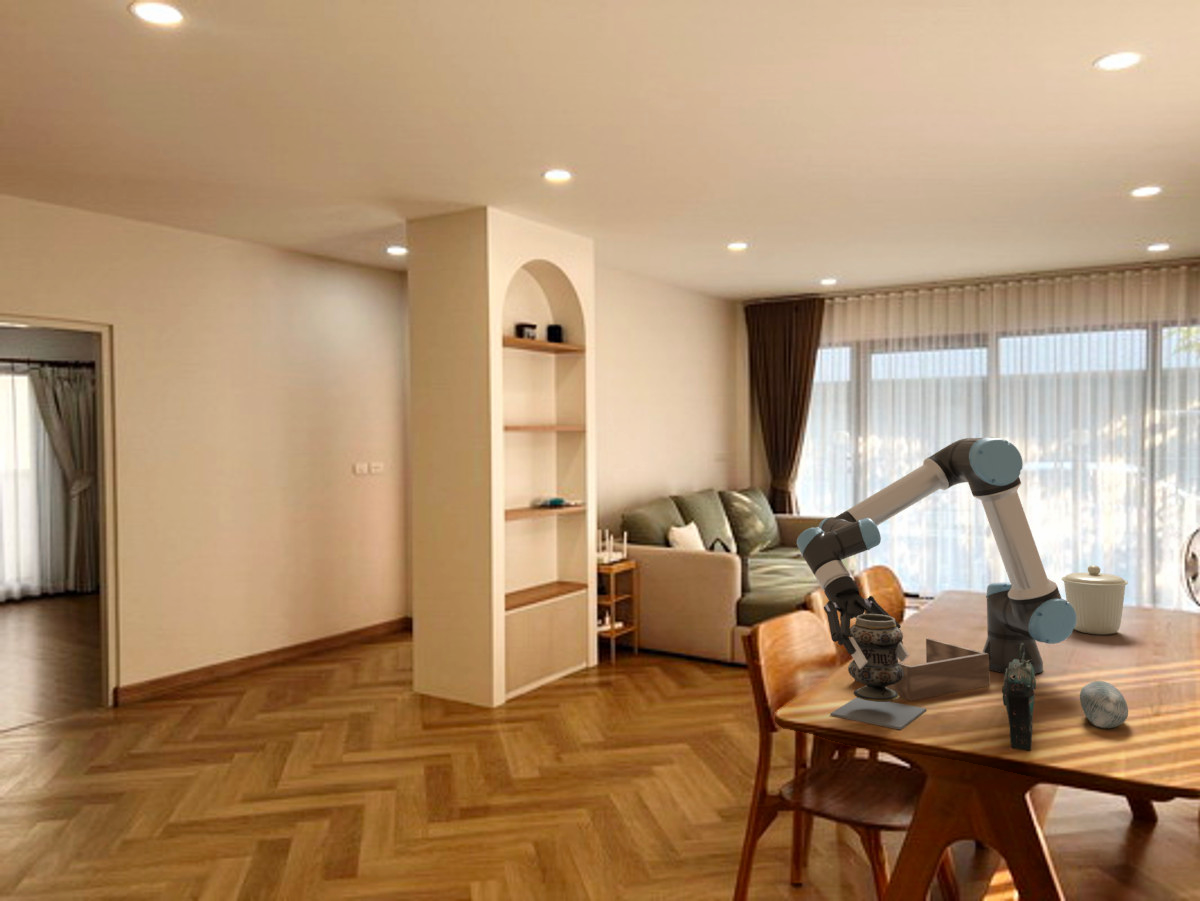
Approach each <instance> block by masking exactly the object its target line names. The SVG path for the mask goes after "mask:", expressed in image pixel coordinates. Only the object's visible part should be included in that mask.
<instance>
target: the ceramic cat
mask: <svg viewBox="0 0 1200 901" xmlns="http://www.w3.org/2000/svg"><path fill="white" fill-rule="evenodd" d="M1023 646H1024V643H1021V644H1020V646H1019V660H1018V659H1014V660H1013V661H1012V662H1010V663H1009V665H1008V669H1007V668H1006V671H1005V673H1004V680H1003V683H1002V684H1003V685H1002V690H1001V692H1002V701H1003V702H1002V703H1003V706H1005V708H1006V713H1007V718H1008V723H1009V724H1008V725H1009V726H1008V727H1009V738H1010V740H1009V741H1010V745H1011V748H1012V749H1016V750H1022V751H1027V752H1028V751H1029V752H1030V751H1031V749H1032V743H1033V720H1034V719H1033V718H1034V717H1033V716H1034V706H1035V696H1036V694H1037V692H1036V691H1037V688H1036V686H1037V682H1036V681H1037V680H1036V675H1035V674H1034V668H1033V666H1032V665H1031V661H1032V659H1031V660H1028V661H1027V660H1025V657H1026V655H1025V653H1023V655H1022V660H1021V650H1022V647H1023Z"/></svg>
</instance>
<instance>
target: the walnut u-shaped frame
mask: <svg viewBox="0 0 1200 901" xmlns="http://www.w3.org/2000/svg"><path fill="white" fill-rule="evenodd" d="M925 652H926V653H925V654H926V658H925V659H926V662H925V663H918V664H912V665H909V664H906V663H905V662H904V663H903V662H901V661H898V663H899V664H900V665H901V667H902V668H903V670H904V675H903V678H902V679H901V680H900V681H899V682H897V683H895V684H893V685H889V686H886V687H887V688H889V689H891V690H894V691H895V692H897V693H898V694H899V696H900V697H899V698H902V697H903V698H902V699H904V698H905V700H907V699H908V700H907V701H910V702H912V700H913V701H917V700H922V699H928V698H933V696H934V697H937V696H938V695H939V696H943V694H944V695H949V694H953V693H959V692H964V691H968V690H969V691H970V690H972V689H978V688H982V687H988V686H989V687H990V670H989V654H988V653H984V652H983V651H980V650H976V649H971V648H968V647H965V646H961V645H957V644H953V643H949V642H945V641H941V640H937V639H933V638H930V637H928V638H926V639H925ZM854 681H855V682H857V680H855V679H854ZM857 683H860V682H859V681H858V682H857ZM939 696H938V697H939Z"/></svg>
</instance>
